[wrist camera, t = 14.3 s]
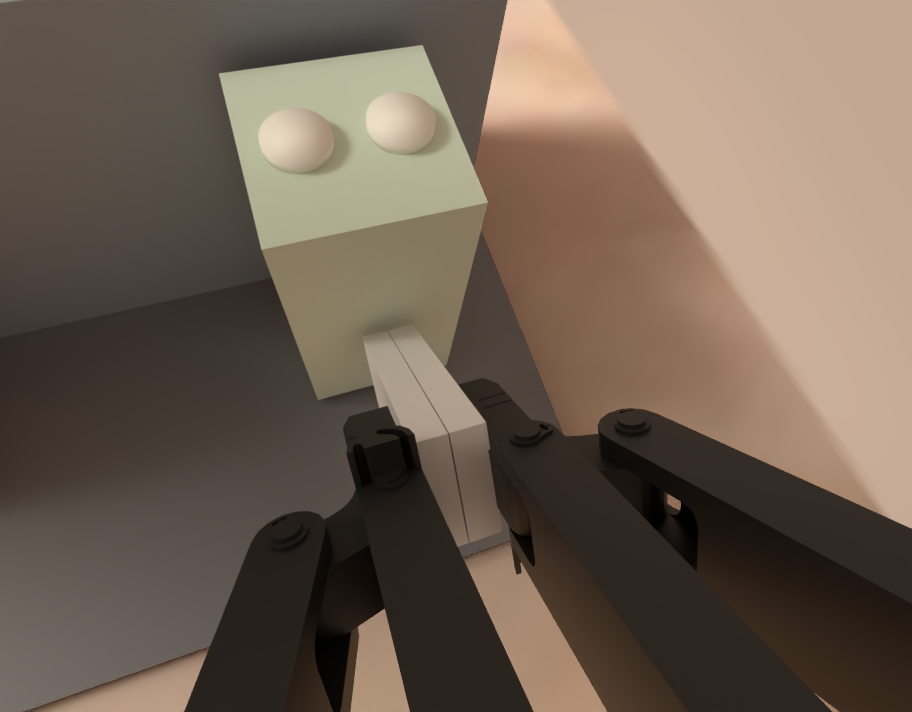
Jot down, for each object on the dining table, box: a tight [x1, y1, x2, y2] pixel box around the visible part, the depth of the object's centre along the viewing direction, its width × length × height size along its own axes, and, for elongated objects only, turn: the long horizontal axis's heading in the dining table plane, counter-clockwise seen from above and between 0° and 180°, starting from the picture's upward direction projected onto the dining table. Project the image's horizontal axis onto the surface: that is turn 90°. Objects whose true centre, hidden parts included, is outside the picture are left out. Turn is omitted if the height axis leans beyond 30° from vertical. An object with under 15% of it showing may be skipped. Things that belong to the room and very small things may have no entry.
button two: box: [219, 45, 488, 400], centre depth 17 cm, size 5×5×10 cm
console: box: [0, 0, 563, 712], centre depth 16 cm, size 20×28×13 cm
